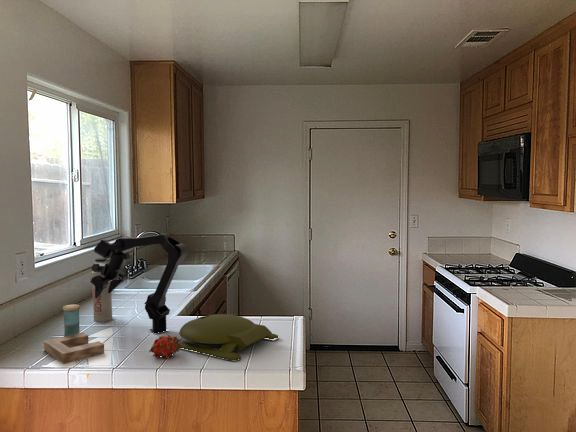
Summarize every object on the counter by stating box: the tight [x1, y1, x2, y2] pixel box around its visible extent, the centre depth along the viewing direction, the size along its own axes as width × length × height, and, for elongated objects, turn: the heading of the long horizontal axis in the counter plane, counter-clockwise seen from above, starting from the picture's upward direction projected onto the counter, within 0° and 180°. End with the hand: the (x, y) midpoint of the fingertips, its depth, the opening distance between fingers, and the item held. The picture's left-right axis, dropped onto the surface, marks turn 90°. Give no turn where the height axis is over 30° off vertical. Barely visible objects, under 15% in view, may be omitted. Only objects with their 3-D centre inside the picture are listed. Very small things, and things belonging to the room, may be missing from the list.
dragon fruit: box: [149, 334, 181, 359], centre depth 178 cm, size 8×8×12 cm
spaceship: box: [179, 313, 279, 361], centre depth 195 cm, size 35×31×10 cm
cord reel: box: [62, 303, 81, 337], centre depth 198 cm, size 6×6×13 cm
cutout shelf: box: [43, 332, 105, 364], centre depth 183 cm, size 15×19×4 cm
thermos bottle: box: [91, 257, 113, 323], centre depth 224 cm, size 8×8×28 cm
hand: (102, 295), depth 214 cm, fingers open, 9 cm apart
